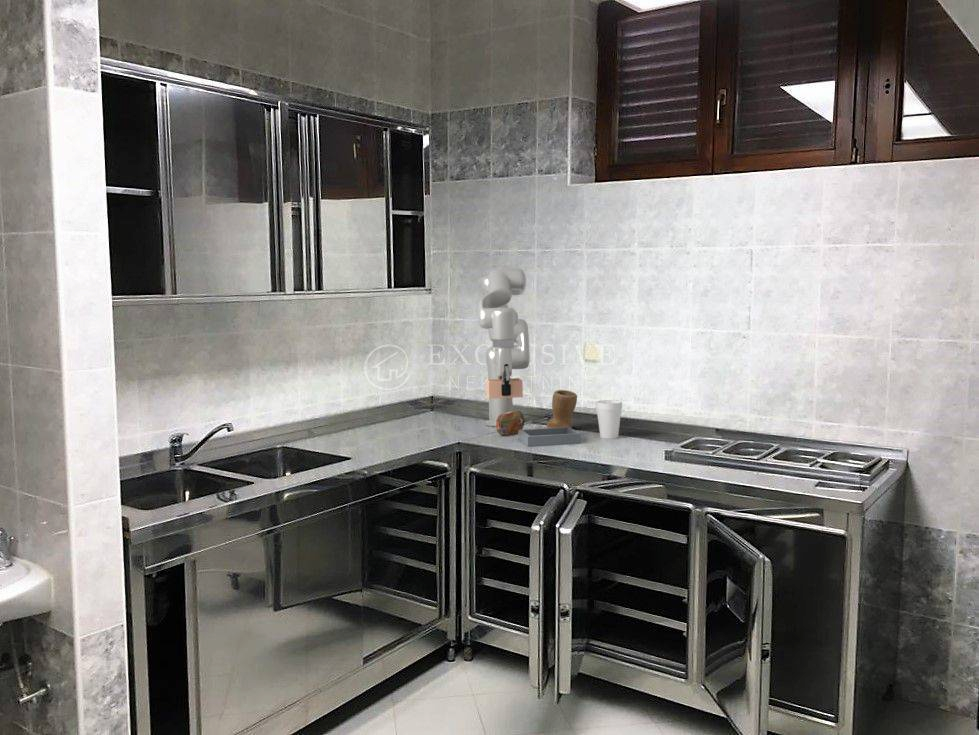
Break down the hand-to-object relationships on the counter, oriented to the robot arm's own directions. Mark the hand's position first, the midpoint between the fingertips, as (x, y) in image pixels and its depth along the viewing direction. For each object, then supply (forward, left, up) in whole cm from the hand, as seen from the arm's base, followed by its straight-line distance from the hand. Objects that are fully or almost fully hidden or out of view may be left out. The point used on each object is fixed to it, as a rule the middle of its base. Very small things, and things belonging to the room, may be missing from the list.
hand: (504, 393), depth 309 cm
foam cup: (+2, +38, -18) cm, 42 cm away
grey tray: (+3, +15, -18) cm, 24 cm away
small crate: (0, 0, -1) cm, 1 cm away
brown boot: (-20, +27, -18) cm, 38 cm away
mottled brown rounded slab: (-16, +5, -18) cm, 25 cm away
